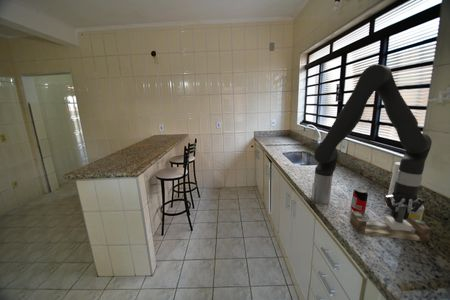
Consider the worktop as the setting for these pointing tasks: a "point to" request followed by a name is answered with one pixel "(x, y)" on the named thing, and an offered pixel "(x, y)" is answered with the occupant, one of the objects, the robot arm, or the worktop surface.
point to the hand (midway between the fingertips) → (398, 218)
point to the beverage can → (359, 200)
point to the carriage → (399, 221)
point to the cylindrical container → (393, 180)
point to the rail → (391, 233)
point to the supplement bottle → (417, 213)
